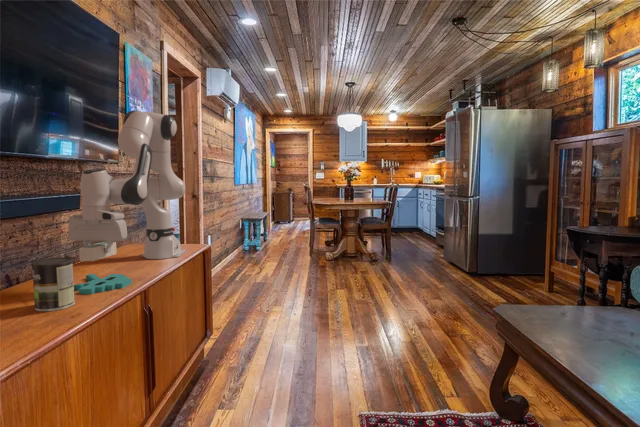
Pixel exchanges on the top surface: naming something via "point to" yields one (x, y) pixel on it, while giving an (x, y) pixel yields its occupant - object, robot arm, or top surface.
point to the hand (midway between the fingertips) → (98, 252)
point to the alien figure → (102, 283)
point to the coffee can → (53, 284)
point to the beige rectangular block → (96, 252)
